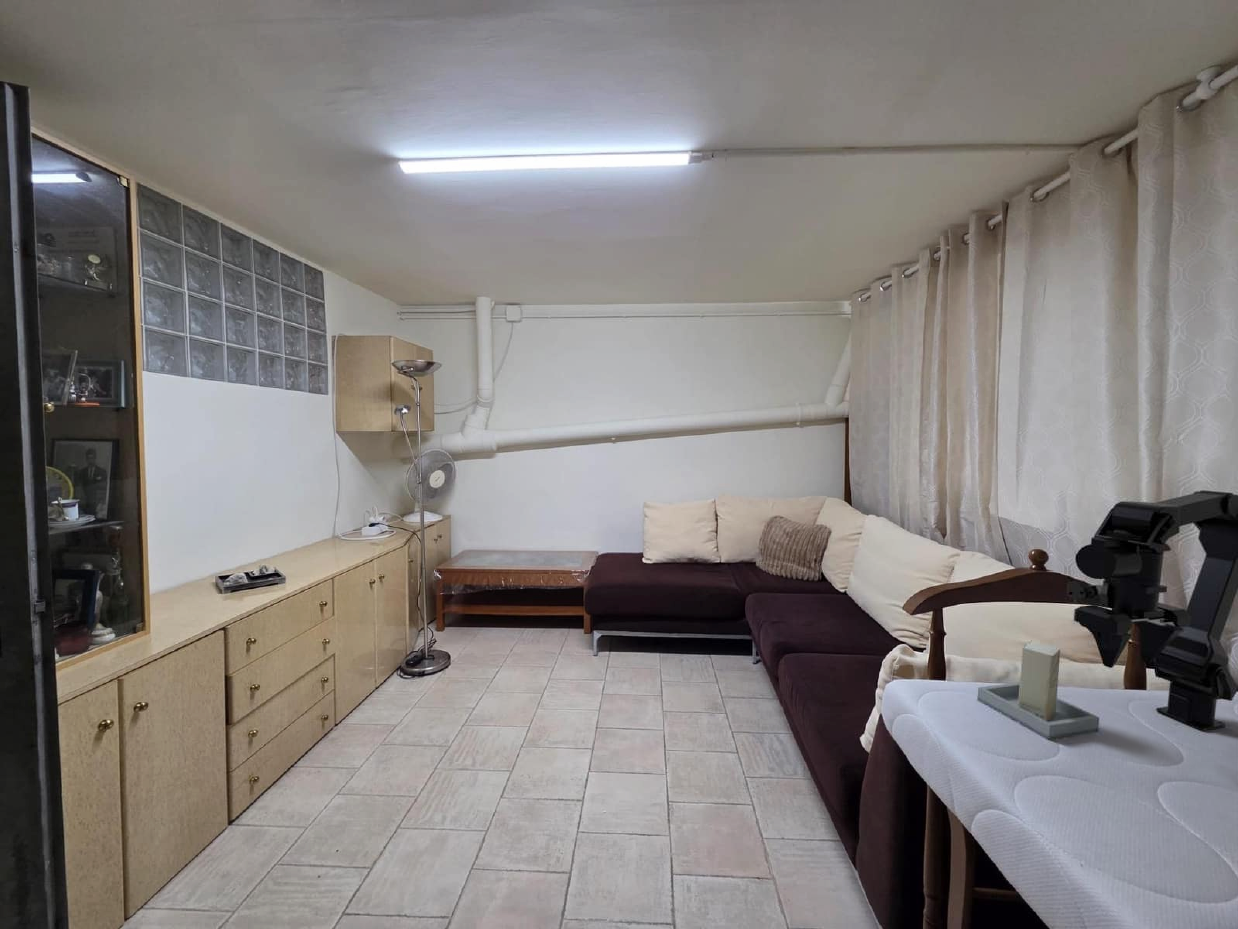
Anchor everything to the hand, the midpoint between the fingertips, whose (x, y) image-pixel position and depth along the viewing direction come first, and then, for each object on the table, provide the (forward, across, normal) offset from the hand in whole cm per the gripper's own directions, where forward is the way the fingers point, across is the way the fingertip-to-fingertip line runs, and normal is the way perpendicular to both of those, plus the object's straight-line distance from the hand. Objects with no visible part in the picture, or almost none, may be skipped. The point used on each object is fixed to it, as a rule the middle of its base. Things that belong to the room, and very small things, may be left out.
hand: (1126, 664), depth 86 cm
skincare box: (+12, +10, -7) cm, 17 cm away
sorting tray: (+12, +10, -7) cm, 17 cm away
